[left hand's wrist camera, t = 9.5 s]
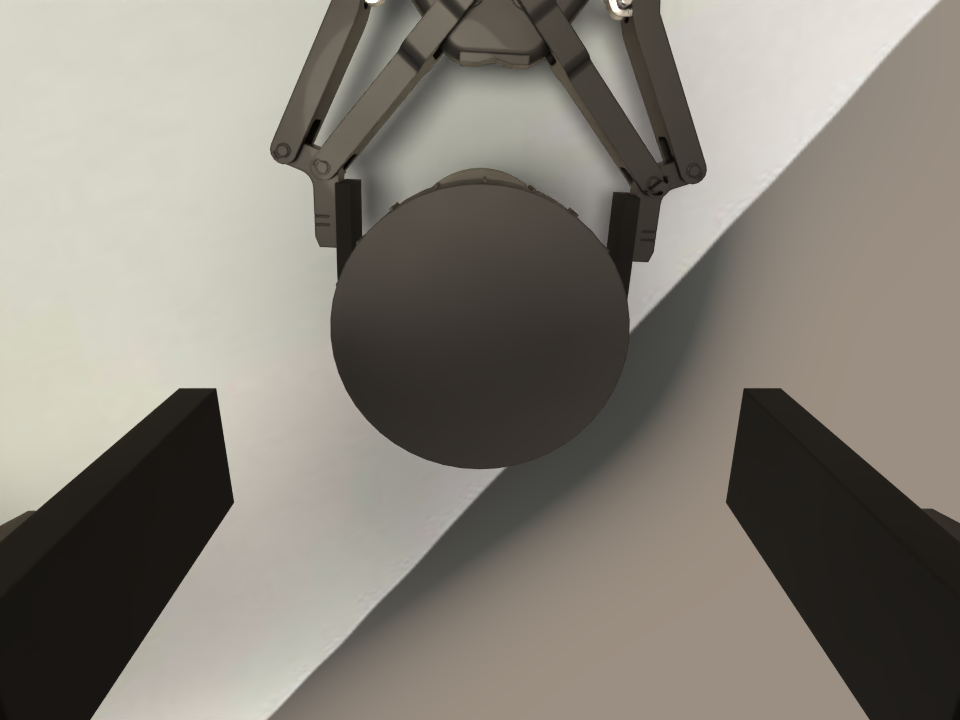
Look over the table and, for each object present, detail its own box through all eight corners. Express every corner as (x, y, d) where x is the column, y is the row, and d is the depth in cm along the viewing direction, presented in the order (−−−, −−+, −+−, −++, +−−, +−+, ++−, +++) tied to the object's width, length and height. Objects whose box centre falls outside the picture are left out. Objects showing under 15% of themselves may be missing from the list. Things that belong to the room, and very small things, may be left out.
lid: (370, 456, 24) (360, 484, 22) (316, 197, 21) (299, 204, 19) (623, 427, 24) (636, 453, 22) (609, 159, 20) (623, 162, 18)
